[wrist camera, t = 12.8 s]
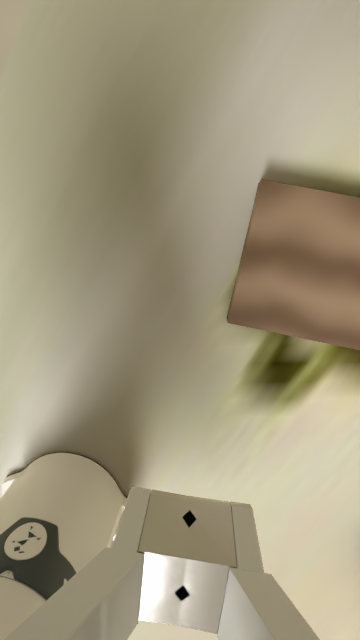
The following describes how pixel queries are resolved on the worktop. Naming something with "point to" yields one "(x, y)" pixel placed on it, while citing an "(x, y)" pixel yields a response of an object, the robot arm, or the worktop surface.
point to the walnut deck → (301, 265)
